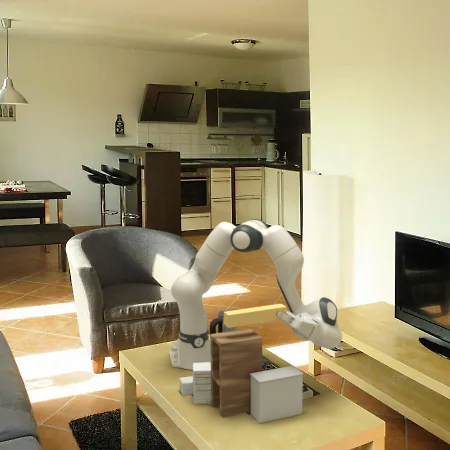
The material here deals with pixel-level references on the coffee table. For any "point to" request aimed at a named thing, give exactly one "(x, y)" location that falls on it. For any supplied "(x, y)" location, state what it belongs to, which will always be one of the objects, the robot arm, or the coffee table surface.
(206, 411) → the coffee table surface
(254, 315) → the ochre box
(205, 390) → the white drawer cabinet
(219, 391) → the walnut shelf
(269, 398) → the grey box
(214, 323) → the milk frother
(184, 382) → the small box
